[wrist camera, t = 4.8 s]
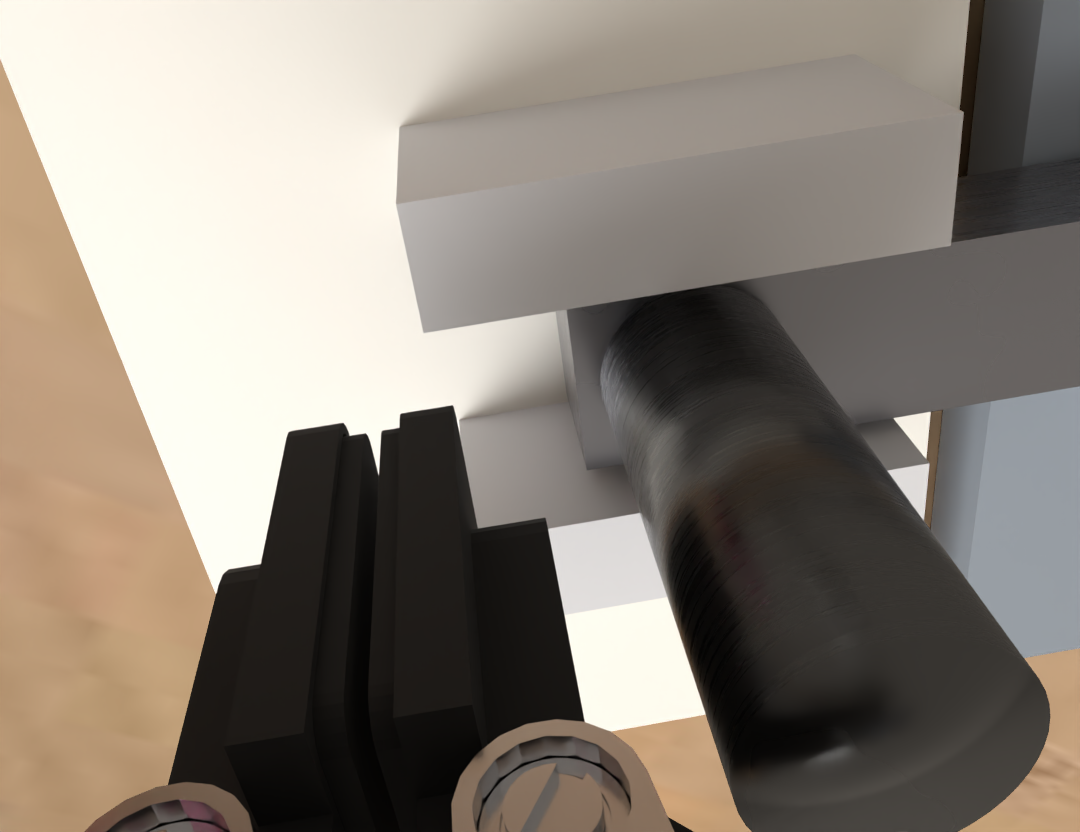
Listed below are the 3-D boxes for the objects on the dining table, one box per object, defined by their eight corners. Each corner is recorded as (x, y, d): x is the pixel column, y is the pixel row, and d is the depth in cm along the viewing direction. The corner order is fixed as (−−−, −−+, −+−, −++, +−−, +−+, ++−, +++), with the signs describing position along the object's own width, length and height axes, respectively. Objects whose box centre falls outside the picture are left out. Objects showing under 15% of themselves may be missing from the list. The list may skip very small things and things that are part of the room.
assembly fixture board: (-122, -396, 11) (-418, -514, 7) (1805, -671, 11) (2520, -922, 7) (301, 726, 20) (274, 938, 16) (1338, 543, 21) (1548, 707, 17)
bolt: (546, 244, 13) (684, 681, 7) (1255, 128, 14) (2087, 433, 7) (566, 395, 15) (698, 890, 8) (1216, 286, 15) (1883, 674, 8)
